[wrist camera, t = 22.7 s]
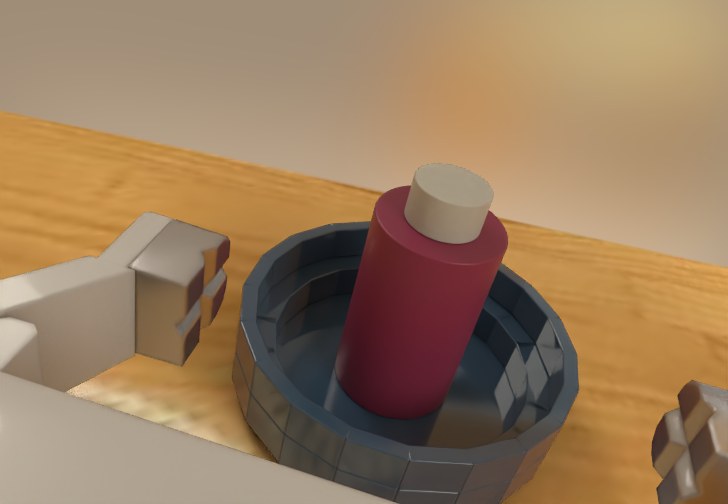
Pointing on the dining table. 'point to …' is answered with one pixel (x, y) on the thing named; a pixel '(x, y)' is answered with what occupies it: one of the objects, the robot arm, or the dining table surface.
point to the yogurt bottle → (419, 291)
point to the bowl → (388, 435)
